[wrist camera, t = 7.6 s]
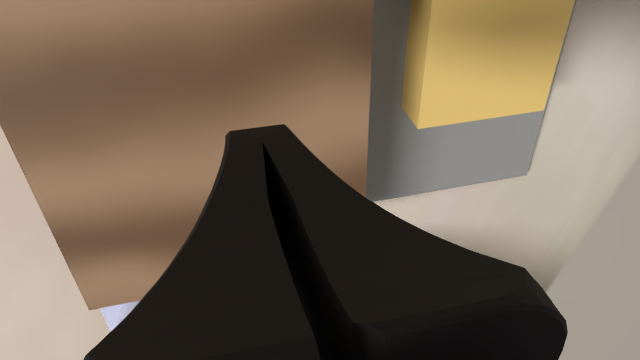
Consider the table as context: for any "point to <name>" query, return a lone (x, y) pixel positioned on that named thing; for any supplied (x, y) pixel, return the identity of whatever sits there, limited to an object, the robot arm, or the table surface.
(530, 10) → the yellow rectangular block
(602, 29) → the table surface
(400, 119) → the mat
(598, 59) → the table surface
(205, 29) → the deck
